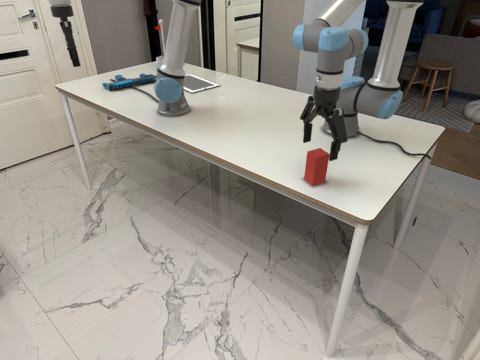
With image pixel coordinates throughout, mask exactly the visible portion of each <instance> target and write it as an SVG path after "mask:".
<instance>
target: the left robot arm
mask: <svg viewBox="0 0 480 360" xmlns="http://www.w3.org/2000/svg"><path fill="white" fill-rule="evenodd" d="M47 1H48V4H49V5H50V8H49V9H50V11H51V16H52V17H53V18H56V19H59V20H60V21H58V22H59V26H60V28H61V31H62V33H63V35H64V40H65V43H66V50H67V51H68V54H69V58H70V60H71V63H72V67H73V68H79V67H81V66H82V65H81V61H80V57H79V54H78V50H77V45H76V41H75V39H74V35H73V33H74V32H73V28H72V27H73V25H72V22H71V21H70V20H69V19H68V18H71V17H74V10H73V6H72V5H71V3H72V1H71V0H47ZM171 2H172V3H173V4H172V9H171V14H170V21H169V26H168V32H167V37H166V41H165V54H164V53H163V57H164V59H163V64H158V63H157V65H156V67H155V72H156V75H157V78H156V79H155V83H154V86H153V90H154V94H155V96H156V97H157V98H155V97H154V96H153V95H151V94H150V93H148V92H147V91H145V90H143V89H141V88H138V87H134V86H133V85H130V86H127V87H128V88H131V89H134V90H137V91H139V92H142V93H144V94H146V95H147V96H149V97H150V98H152V99H153V100H154V101H155V102H157V103H158V106H157V111H158V114H159V115H162V116H165V117H179V116H183V115H185V114H187V113H189V112H190V105H189V103H188V101H187V98H186V96H185V90H184V88H183V82H184V78H185V75H186V72H185V70H184V65H185V61H186V60H185V59H186V55H187V50H188V45H189V41H190V37H191V32H192V27H193V22H194V17H195V13H196V10H197V9H198V8H200V7H201V2H202V0H171ZM109 81H112V82H118V81H117V80H116V79H112V78H110V80H109Z"/></svg>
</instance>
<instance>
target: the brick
mask: <svg viewBox="0 0 480 360" xmlns="http://www.w3.org/2000/svg"><path fill="white" fill-rule="evenodd" d="M329 156H330V152H328V151H326V150H325V149H322V147H318V148H315V149H312V150H311V149H310V150H307V152H306V160H305V167H304V177H303V180H304V181H306V183H308V184H309V185H310V186H312V187H313V186H317V185H320V184H324V183H325V182H326V179H327V172H328V167H329V162H330V161H329Z"/></svg>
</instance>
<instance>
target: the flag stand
mask: <svg viewBox="0 0 480 360" xmlns="http://www.w3.org/2000/svg"><path fill="white" fill-rule="evenodd" d="M154 29H155V30H157V31H159V32H161V33H160V34H161V40H162V49H163V55H159V56H156V58H155V60H156V63H157V65H158V64H163V59H164V54H165V48H166V41H165V32H164V20H163V19H162V18H161V19H159V20H158V25H157V26H155V27H154Z"/></svg>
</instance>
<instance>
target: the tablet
mask: <svg viewBox="0 0 480 360" xmlns="http://www.w3.org/2000/svg"><path fill="white" fill-rule="evenodd" d="M217 87H221V85H220V84H219V83H216V82H213V81H210V80H208V79H205V78H202V77H200V76H197V75H195V74H192V73H187V74H185V78H184V82H183V88H184V91H185V92H188V93H191V94H195V93H197V92H201V91H206V90H210V89H213V88H217Z"/></svg>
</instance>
